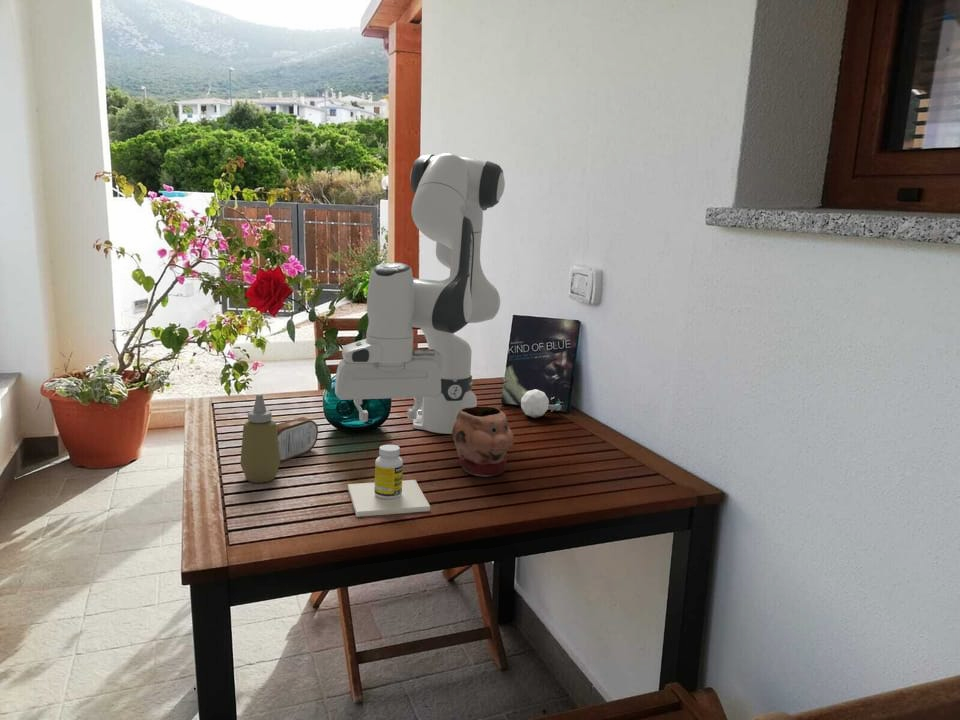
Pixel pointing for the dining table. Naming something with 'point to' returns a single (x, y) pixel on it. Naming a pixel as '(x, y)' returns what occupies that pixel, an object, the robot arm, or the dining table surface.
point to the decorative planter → (482, 440)
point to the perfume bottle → (536, 403)
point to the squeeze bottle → (260, 445)
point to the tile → (387, 500)
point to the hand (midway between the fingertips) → (388, 419)
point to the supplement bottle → (388, 472)
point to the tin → (296, 437)
